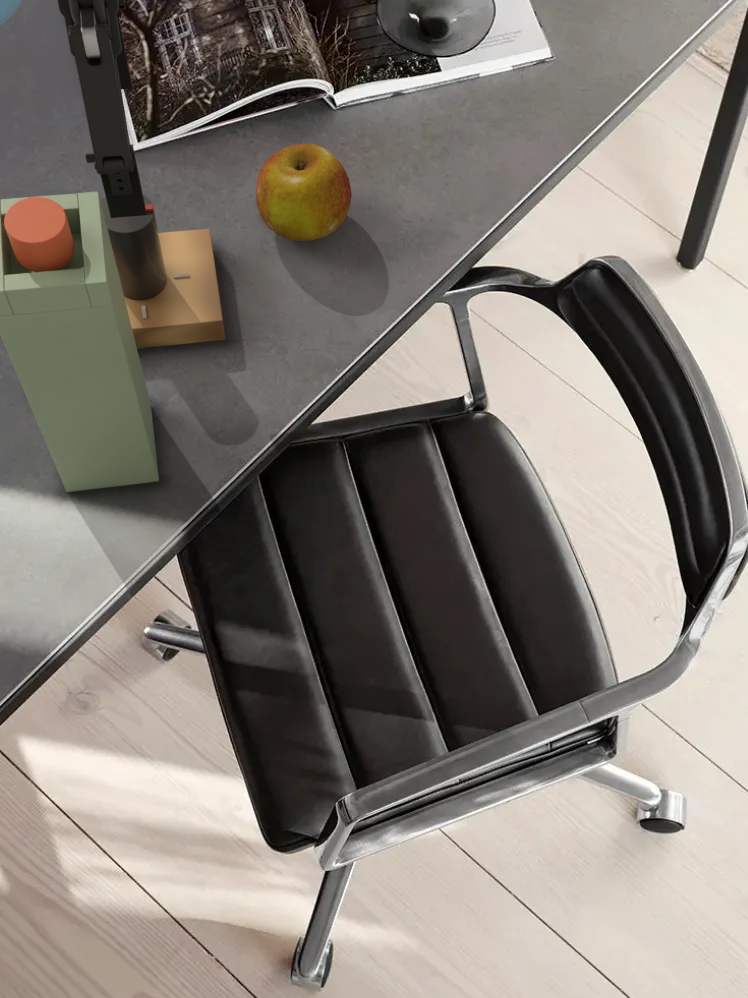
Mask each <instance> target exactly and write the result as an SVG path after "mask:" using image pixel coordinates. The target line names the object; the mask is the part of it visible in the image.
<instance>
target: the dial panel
mask: <svg viewBox="0 0 748 998" xmlns="http://www.w3.org/2000/svg"><path fill="white" fill-rule="evenodd" d="M158 234H159V239H160V244H161V250H162V255H163V260H164V266H165V271H166V276H167V282H166V285H165V287H164V289H163V290H162V291H161V292H160V293H159V294H158V295H157V296H155V297H153V298H150V299H147V300H133V299H129V298H127V297H125V296H124V298H125V302H126V306H127V311H128V315H129V319H130V323H131V327H132V331H133V335H134V339H135V343H136V347H137V349H147V348H156V347H166V346H175V345H186V344H196V343H206V342H214V341H225V340H226V333H225V325H224V318H223V310H222V304H221V297H220V291H219V284H218V283H219V282H218V276H217V270H216V269H217V268H216V262H215V256H214V249H213V241H212V234H211V229H210V228H202V229H189V230H178V231H177V230H176V231H165V232H158Z"/></svg>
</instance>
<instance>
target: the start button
mask: <svg viewBox="0 0 748 998" xmlns="http://www.w3.org/2000/svg"><path fill="white" fill-rule="evenodd" d="M30 197H31V198H26V199H23V200H20V201H18V202H17V203H15V204H14V205H12V206H11V207H10V208H9V210H8V211H7V213H6V215H5V219H4V226H5V229H6V232H7V235H8V237H9V240H10V243H11V246H12V248H13V251H14V254H15V257H16V259H17V261H18V262H19V263H20V264H21V265H22V266H23V267H24V268H26V269H28V270H30V271H33V272H45V271H57V270H59V269H61V268H63V267H65V266H66V265H67V264H68V263H69V262H70V261H71V259H72V258H73V255H74V252H75V245H74V241H73V237H72V234H71V230H70V227H69V224H68V220H67V217H66V214H65V211H64V209H63V208H62V207H61V206H60V205H59V204H58V203H56V202H55V201H53V200H51V199H48V198H43V197H37V196H30Z"/></svg>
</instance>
